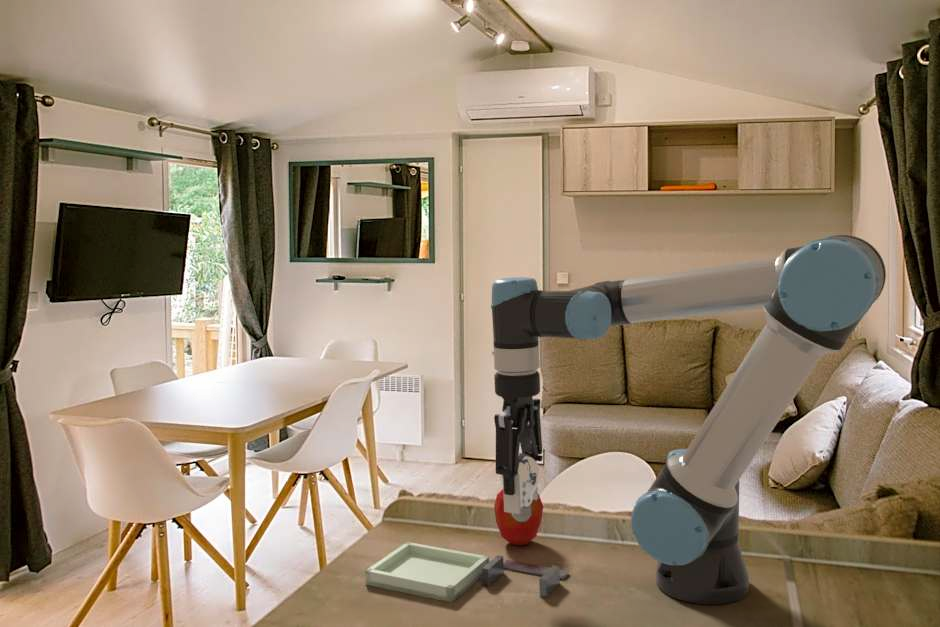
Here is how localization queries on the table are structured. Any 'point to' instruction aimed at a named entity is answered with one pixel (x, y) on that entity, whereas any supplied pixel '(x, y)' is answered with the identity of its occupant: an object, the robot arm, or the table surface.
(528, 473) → the light bulb
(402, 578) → the parts tray
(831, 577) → the table surface
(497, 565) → the clip holder
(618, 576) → the table surface
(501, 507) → the apple
